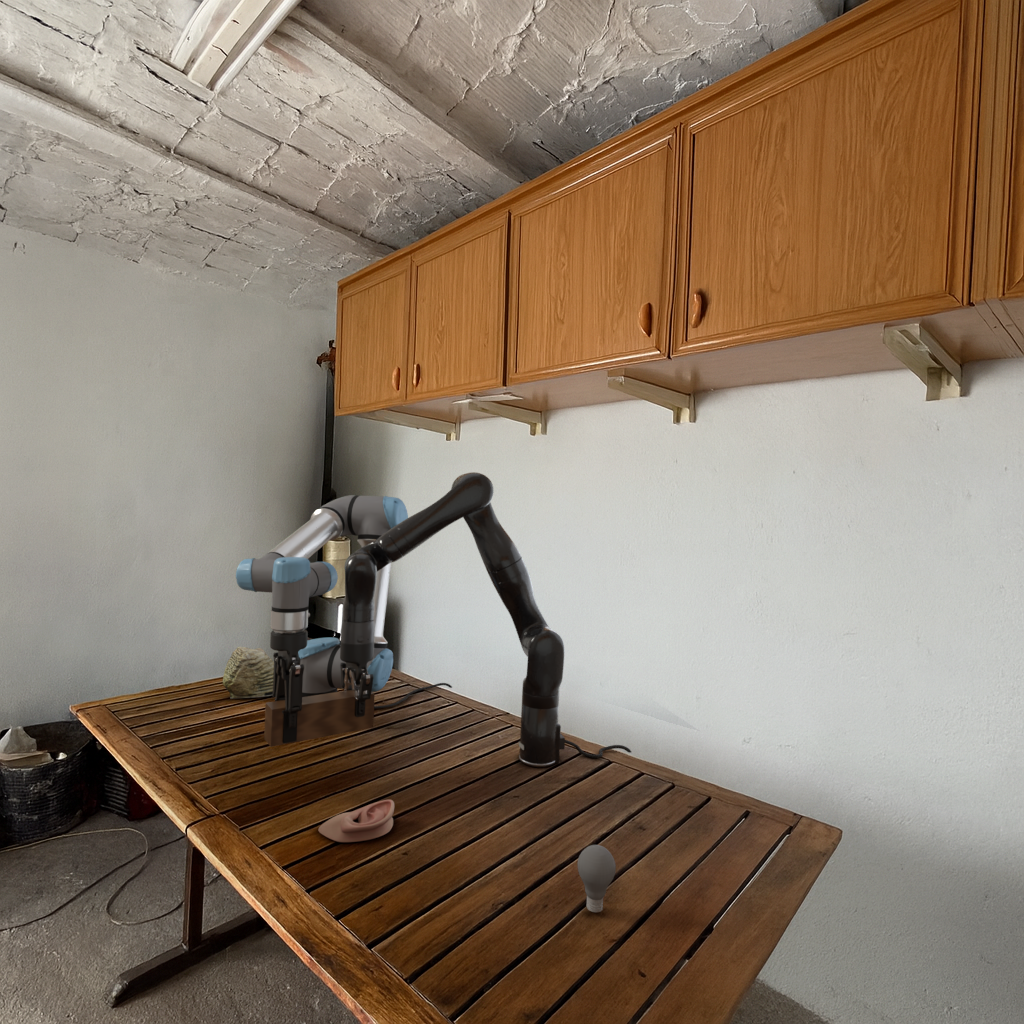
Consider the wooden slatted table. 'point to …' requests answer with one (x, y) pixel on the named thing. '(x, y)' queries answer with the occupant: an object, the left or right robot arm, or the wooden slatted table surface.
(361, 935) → the wooden slatted table surface
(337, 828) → the anatomical model
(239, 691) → the fossil
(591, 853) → the light bulb
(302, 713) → the bar
